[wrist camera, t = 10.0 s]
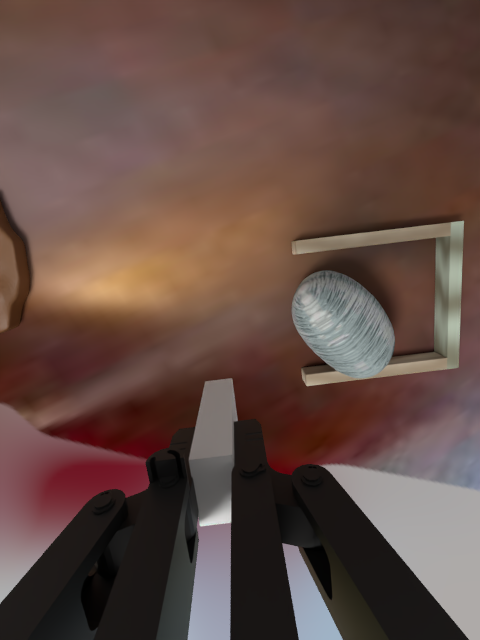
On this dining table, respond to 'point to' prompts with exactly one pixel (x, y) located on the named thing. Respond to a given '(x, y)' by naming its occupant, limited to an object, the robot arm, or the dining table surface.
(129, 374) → the dining table surface
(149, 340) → the dining table surface
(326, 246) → the bay
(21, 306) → the plant
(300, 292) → the streaked grey egg
